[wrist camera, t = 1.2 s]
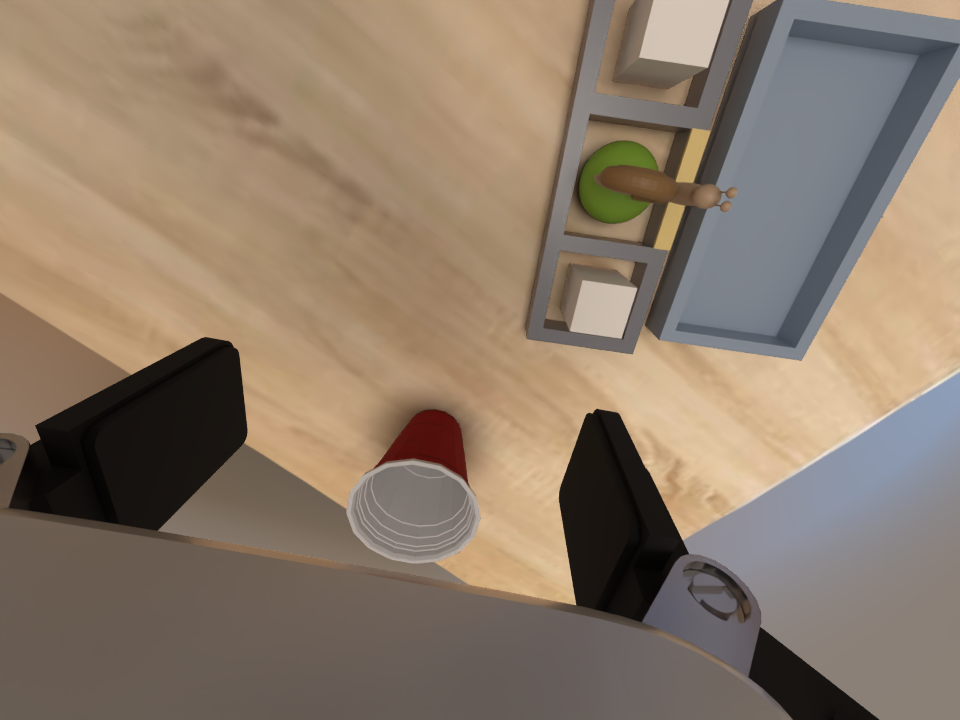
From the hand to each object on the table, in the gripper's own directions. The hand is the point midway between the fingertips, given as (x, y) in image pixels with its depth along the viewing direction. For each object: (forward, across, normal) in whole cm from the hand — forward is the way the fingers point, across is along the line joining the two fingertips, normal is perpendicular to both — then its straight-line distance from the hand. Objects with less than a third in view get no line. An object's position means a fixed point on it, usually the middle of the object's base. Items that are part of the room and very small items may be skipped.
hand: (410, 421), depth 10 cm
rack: (+25, -10, -7) cm, 28 cm away
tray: (+25, -22, -8) cm, 34 cm away
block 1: (+25, -10, +1) cm, 27 cm away
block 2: (+25, -10, -16) cm, 31 cm away
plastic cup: (+26, +1, +19) cm, 32 cm away
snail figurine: (+26, -10, -7) cm, 28 cm away
